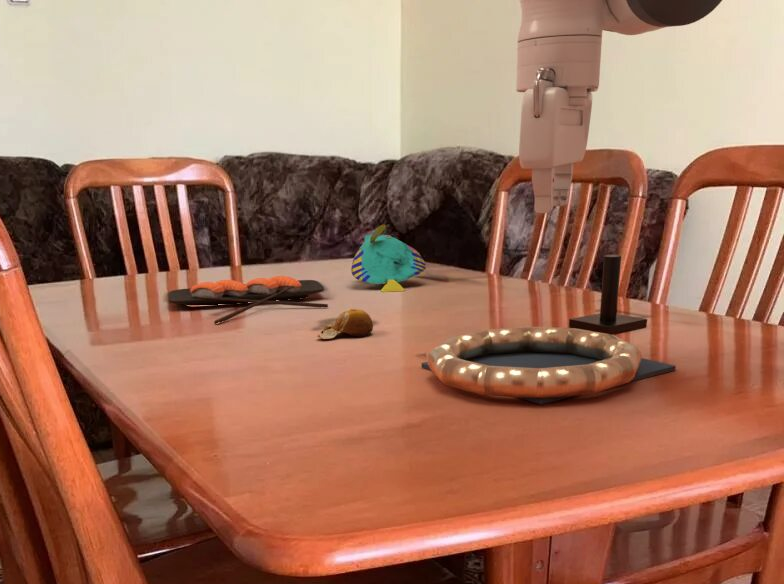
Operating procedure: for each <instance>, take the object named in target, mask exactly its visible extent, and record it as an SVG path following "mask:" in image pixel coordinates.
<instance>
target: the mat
mask: <svg viewBox="0 0 784 584" xmlns="http://www.w3.org/2000/svg"><path fill="white" fill-rule="evenodd" d="M466 361H470V362H475V363H479V364H484V365H488V366H502V367H521V368H551V367H563V366H575V365H588V364H591V363H595V362H598V361H601V360H600V359H595V358H590V357H585V356H579V355H574V354H569V353H546V352H517V353H504V354H491V355H484V356H480V357H476V358H473V359H469V360H466ZM676 368H677V365H675V364H670V363H665V362H661V361H657V360H652V359H648V358H643V357H641V361H640V364H639V367H638V369H637V372H636V374H635V376H634V378H633V379H632V380H631V381H629V382H628V383H632V382H635V381H639V380H643V379H646V378H651V377H655V376H658V375H663V374H667V373H671V372H673V371H676ZM421 369H426V370H429V371H432V370H431V369H430V368H429V366H428V361H425V362H421ZM573 397H574V396H565V397H553V398H542V399H535V398H519V397H516V398H517V399H521V400H524V401H527V402H531V403H533V404H536V405H539V406H541V405H545V404H548V403H549V404H550V403H553V402H557V401H560V400H564V399H568V398H573Z"/></svg>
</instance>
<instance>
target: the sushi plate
mask: <svg viewBox="0 0 784 584" xmlns="http://www.w3.org/2000/svg"><path fill="white" fill-rule="evenodd" d="M324 291H325V287H324V286H323V285H322V284H321V283H320V282H319V281H318V280H315V279H300V280H299V279H298V280H297V279H296V278H294V277H290V276H286V275H275V276H272V277H270V278H265V277H259V278H254V279H251V280H248V281H247V282H246V283H245V284H244V283H243V282H241V281H238V280H234V279H222V280H218V281H216V282H211V281H204V282H200V283H197V284H194V285H193V286H192V287H191V288H180V289H174V290H171V291H170V292H168V297H167V298H168V301H169V302H170V303H171V304H179V305H180V304H181V305H185V306H186V305H218V304H236V305H238V304H237V303H248V302H254V303H250V304H249V305H247V306H245V307H241V308H240V309H238V310H235V311H233V312H230V313H228V314H226V315H223V316H222V317H220V318H217V319H215V320H214V321H213V322H214V324H215V323H218V322H222V321H224V322H225V321H228V320H230V319H233V318H234V317H236V316H238V315H241V314H242V313H244V312H246V311H248V310H250V309H252V308H254V307H256V306H258V305H260V304H269V305H280V306H281V305H282V306H295V307H309V308H321V307H327V308H329V304H328V303H317V302H298V301H289V300H288V299H298V300H301V299H300V298H305V299H307V298H306V297H308V298H309V296H310V295H314V294H318V293H322V292H324ZM276 300H287V301H276ZM222 323H223V322H222Z"/></svg>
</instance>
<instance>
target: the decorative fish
mask: <svg viewBox="0 0 784 584" xmlns="http://www.w3.org/2000/svg"><path fill="white" fill-rule="evenodd" d="M386 228H387V225H386V224H380V225H379V226H378V227H376V228H375V230H374V231H373V232H372V234H366V235H365V236H364V239H363V240H364V242H363V244H361V246H359V248H358V250H357V251H356V253H355V255H354V257H353V259H352V263H351V275H352V276H353V277H354V279H356V280H358V281H359V282H364V283H369V284H376V285H383V284H385V285H384V286H383V287H382V288H381V290H380V292H381V293H387V292H388V293H389V292H404V291H406V290H405V289H404V287H403V286H402V285H401V284H400V283H401V282H403V281H406V280H408V279H411V278H414V277H417V276H418V275H421V274H422V273H423V272H425V270H426V269H427V264H426V263H425V260H424V258H423V257H422V256H421V254H420V252H418V250H416V249H415V248H413V247H412V246H409V245H408V244H407V243H405V242H403V241H401V240H399V239H397V238H395V237H392V236H391V235H389V234H385V235H382V233H383V232H384V231H385V230H386Z"/></svg>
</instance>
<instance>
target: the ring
mask: <svg viewBox="0 0 784 584" xmlns="http://www.w3.org/2000/svg"><path fill="white" fill-rule="evenodd" d="M517 352H546V353H569V354H574V355H579V356H585V357H590V358H595V359H600V360H601V361H598V362H595V363H591V364H588V365H575V366H563V367H551V368H521V367H502V366H488V365H484V364H479V363H475V362H470V361H466V360H469V359H473V358H476V357H480V356H484V355H491V354H504V353H517ZM641 358H642V352H641V351H640V349H639V347H637V346H636V345H634V344H632V343H630V342H629V341H626V340H624V339H622V338H620V337H618V336H616V335H615V334H605V333H599V332H593V331H587V330H581V329H577V328H572V327H550V326H519V327H504V328H490V329H483V330H477V331H473V332H468V333H464V334H460V335H455V336H451V337H448V338H447V339H445V340H443V342H441V343H440V344H438V345H437V346H435V347H434V348H433V349H432V350H431V351H429V354H428V356H427V362H428V366H429V368H430V369H431V370H430V371H431V372H432V373H433V374H434V375H435V377H437V378H438V380H439V381H440V382H441V383H443V385H446V386H448V387H451V388H456V389H460V390H463V391H467V392H470V393H474V394H478V395H482V396H489V397H505V398H517V397H519V398H518V399H521V398H535V399H542V398H553V397H565V396H573V397H577V396H589V395H594V394H597V393H600V392H603V391H606V390H609V389H613V388H616V387H619V386H622V385H625V384H627V383H630V382H629V381H631V380H632V379H633V378H634V376H635V374H636V372H637V369H638V367H639V364H640V361H641Z"/></svg>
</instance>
